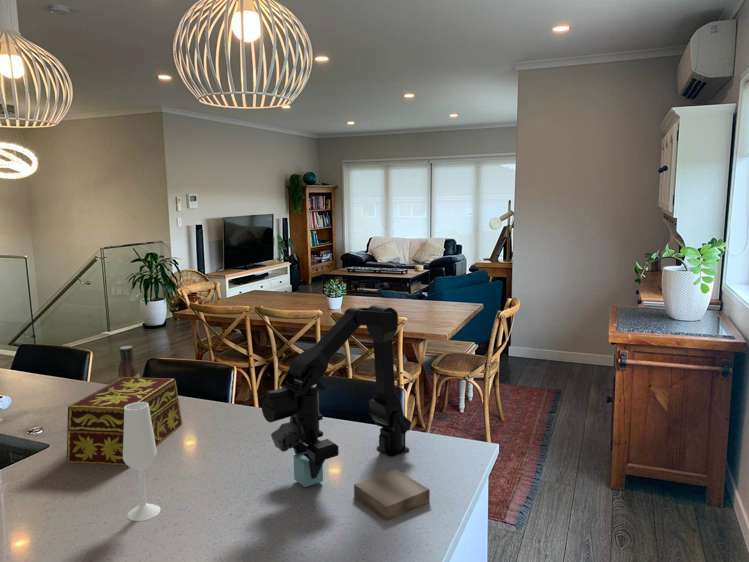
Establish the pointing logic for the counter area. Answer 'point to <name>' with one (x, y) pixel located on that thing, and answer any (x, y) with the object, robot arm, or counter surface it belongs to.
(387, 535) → the counter surface
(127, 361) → the sauce bottle
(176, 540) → the counter surface
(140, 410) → the champagne flute
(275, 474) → the counter surface
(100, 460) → the decorative box
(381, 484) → the walnut base
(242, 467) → the counter surface
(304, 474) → the teal block
